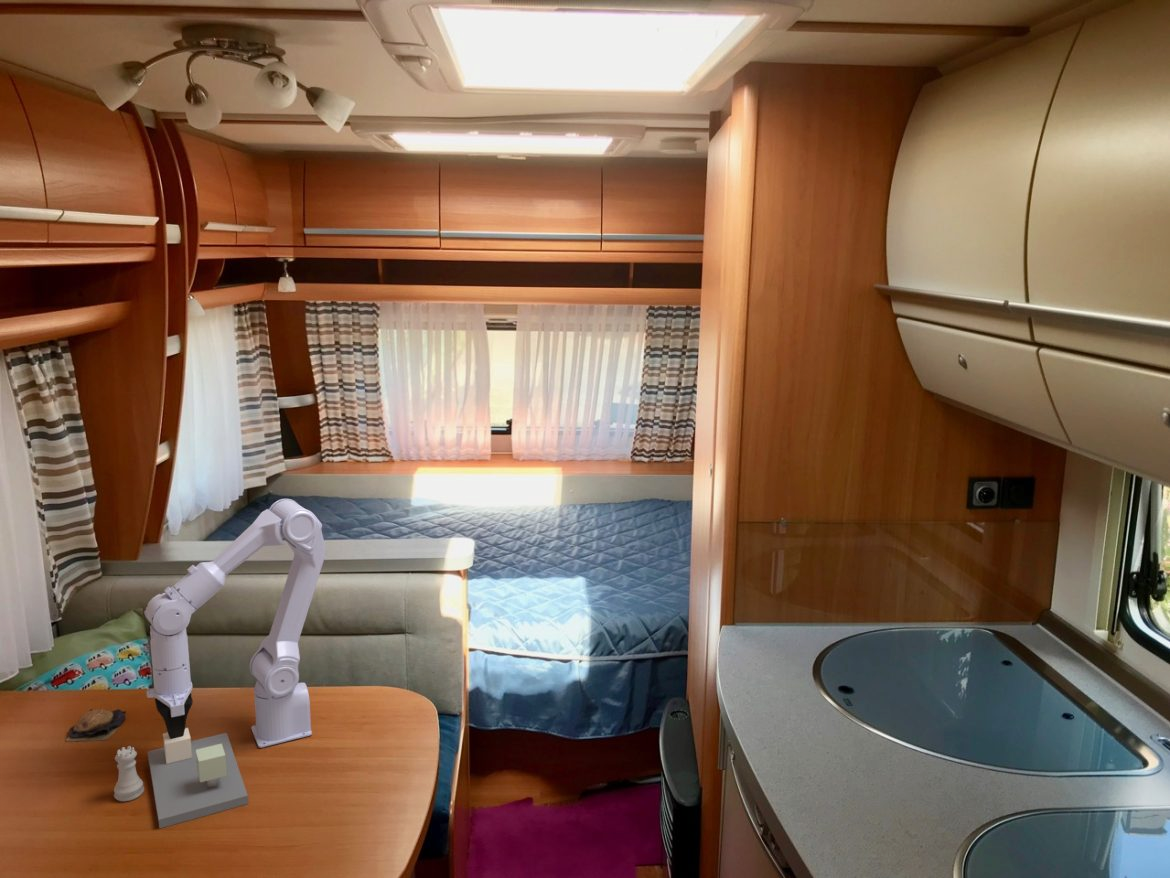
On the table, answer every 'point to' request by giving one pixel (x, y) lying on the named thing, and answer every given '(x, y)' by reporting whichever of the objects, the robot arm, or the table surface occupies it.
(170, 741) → the cream matte cube
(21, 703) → the table surface
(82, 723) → the abalone
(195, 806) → the panel
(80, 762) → the table surface
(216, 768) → the pale green cube
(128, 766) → the rook chess piece
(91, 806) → the table surface
